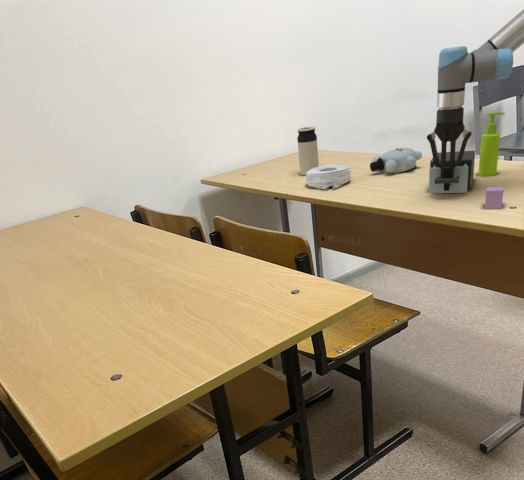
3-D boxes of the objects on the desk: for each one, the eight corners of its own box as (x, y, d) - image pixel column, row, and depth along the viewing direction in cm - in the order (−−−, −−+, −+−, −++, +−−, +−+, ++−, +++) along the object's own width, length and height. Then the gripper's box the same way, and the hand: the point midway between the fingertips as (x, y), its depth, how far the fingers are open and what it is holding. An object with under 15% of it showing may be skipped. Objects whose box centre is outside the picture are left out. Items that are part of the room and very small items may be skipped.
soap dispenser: (497, 175, 182) (503, 113, 173) (476, 175, 186) (480, 114, 176) (501, 171, 186) (506, 110, 177) (480, 172, 190) (485, 111, 180)
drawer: (465, 196, 162) (466, 170, 158) (426, 197, 166) (427, 172, 162) (469, 182, 176) (471, 157, 172) (434, 183, 181) (435, 159, 177)
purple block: (502, 204, 154) (503, 186, 151) (501, 208, 150) (503, 190, 148) (485, 204, 155) (487, 187, 153) (484, 208, 152) (486, 191, 150)
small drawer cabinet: (469, 190, 171) (471, 159, 166) (429, 191, 175) (430, 161, 171) (473, 179, 182) (475, 150, 177) (435, 181, 187) (435, 152, 182)
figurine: (407, 161, 218) (363, 175, 216) (405, 140, 214) (360, 154, 212) (430, 168, 203) (383, 183, 201) (428, 145, 199) (380, 160, 197)
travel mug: (307, 176, 220) (304, 130, 212) (296, 174, 226) (292, 129, 218) (323, 172, 224) (319, 126, 215) (311, 170, 230) (308, 126, 221)
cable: (332, 191, 193) (331, 174, 190) (296, 188, 204) (294, 172, 201) (360, 179, 203) (359, 163, 200) (323, 177, 215) (322, 162, 212)
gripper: (475, 104, 155) (469, 186, 166) (428, 108, 160) (426, 187, 171) (473, 107, 149) (467, 192, 160) (425, 111, 154) (423, 193, 165)
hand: (446, 189), depth 166 cm, fingers closed
